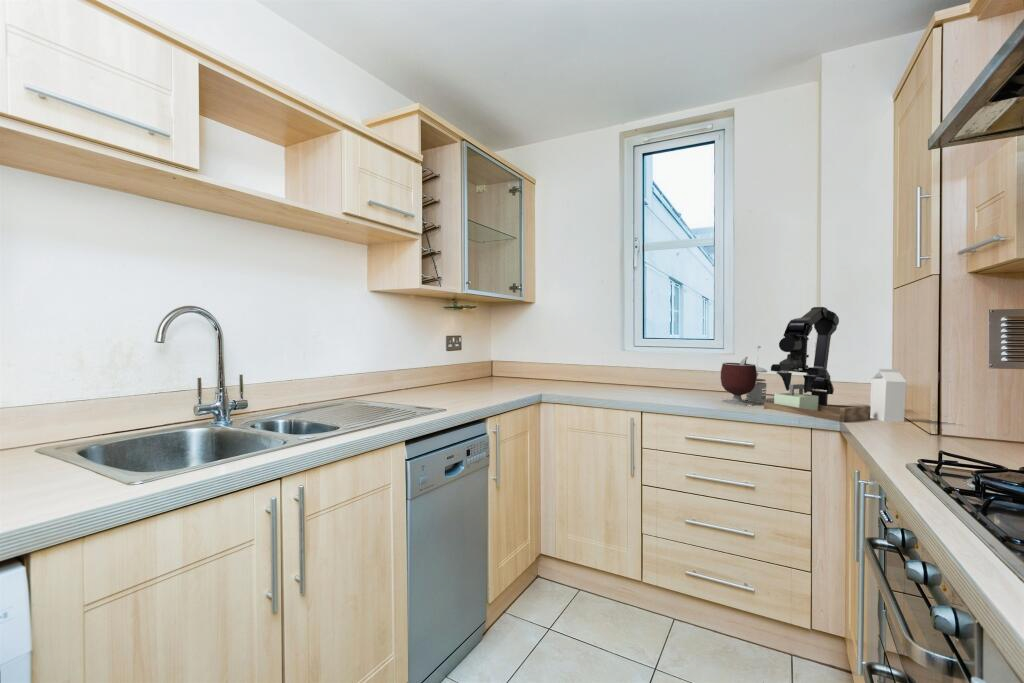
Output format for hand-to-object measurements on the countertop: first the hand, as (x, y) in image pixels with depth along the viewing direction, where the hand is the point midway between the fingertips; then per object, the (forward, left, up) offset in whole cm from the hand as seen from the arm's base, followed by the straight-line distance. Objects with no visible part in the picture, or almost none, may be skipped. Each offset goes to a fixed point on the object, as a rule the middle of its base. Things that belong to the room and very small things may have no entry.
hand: (796, 391), depth 186 cm
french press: (-12, -26, -8) cm, 29 cm away
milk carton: (-14, +24, -8) cm, 29 cm away
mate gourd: (+4, -23, -8) cm, 24 cm away
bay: (0, +7, -8) cm, 11 cm away
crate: (0, 0, -7) cm, 7 cm away
